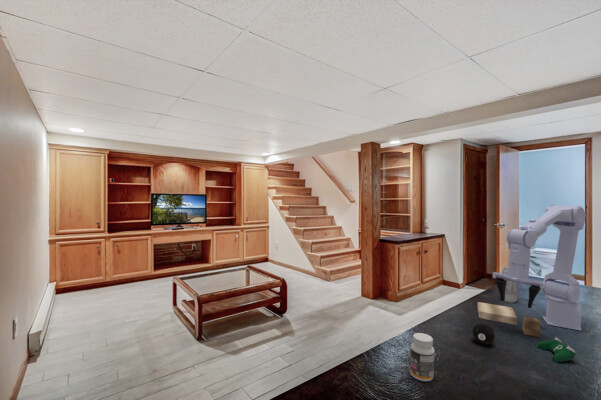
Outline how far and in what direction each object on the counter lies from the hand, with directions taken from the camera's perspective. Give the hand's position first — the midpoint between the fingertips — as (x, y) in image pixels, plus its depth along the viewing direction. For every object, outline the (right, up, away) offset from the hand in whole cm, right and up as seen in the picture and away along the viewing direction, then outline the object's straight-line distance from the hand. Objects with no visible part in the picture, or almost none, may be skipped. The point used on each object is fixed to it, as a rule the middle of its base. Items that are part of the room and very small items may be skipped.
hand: (515, 303), depth 102 cm
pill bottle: (-43, -9, -26) cm, 51 cm away
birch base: (+3, -10, +15) cm, 18 cm away
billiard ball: (-16, -10, -8) cm, 21 cm away
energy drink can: (+20, -10, +33) cm, 40 cm away
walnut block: (+5, -10, 0) cm, 11 cm away
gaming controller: (+2, -11, -14) cm, 18 cm away
